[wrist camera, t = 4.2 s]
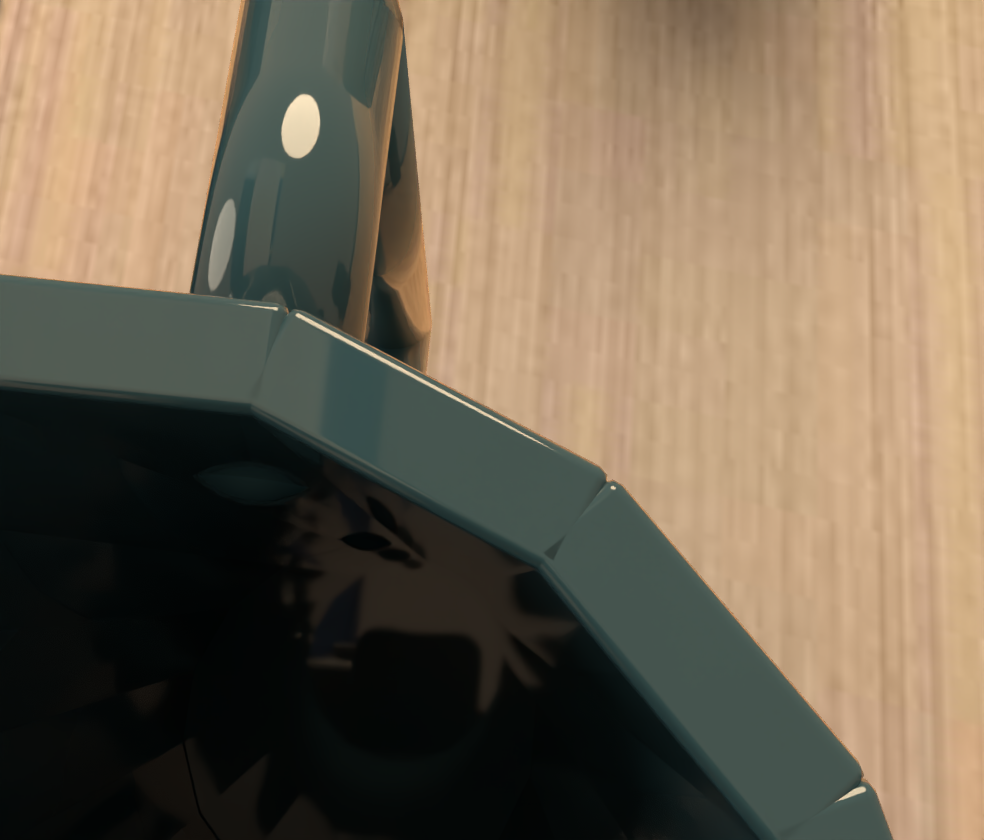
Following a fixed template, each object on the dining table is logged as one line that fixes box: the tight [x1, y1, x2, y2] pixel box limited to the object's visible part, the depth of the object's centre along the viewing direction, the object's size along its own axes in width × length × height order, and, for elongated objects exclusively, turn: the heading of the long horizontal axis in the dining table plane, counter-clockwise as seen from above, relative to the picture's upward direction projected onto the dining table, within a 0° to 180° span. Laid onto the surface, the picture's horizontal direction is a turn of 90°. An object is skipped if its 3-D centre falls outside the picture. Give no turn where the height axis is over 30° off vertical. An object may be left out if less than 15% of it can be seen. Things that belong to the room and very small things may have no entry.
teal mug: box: [0, 0, 894, 840], centre depth 9 cm, size 10×7×13 cm, turn 175°
